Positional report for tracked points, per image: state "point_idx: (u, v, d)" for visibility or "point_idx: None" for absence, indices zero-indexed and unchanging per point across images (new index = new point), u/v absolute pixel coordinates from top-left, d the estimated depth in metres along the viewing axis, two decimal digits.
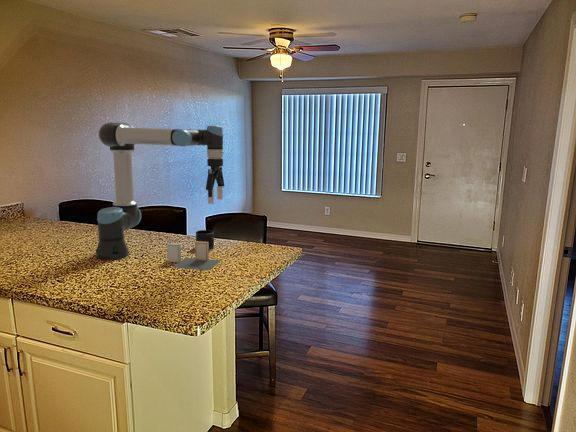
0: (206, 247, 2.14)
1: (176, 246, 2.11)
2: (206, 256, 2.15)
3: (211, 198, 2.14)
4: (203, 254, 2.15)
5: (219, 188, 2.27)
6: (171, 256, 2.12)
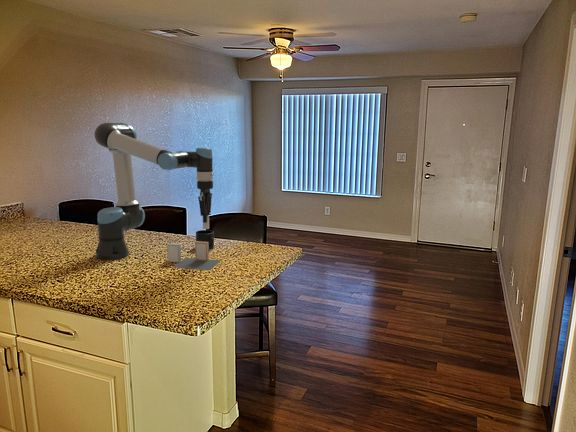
0: (206, 247, 2.14)
1: (176, 246, 2.11)
2: (206, 256, 2.15)
3: (206, 223, 2.17)
4: (203, 254, 2.15)
5: None
6: (171, 256, 2.12)
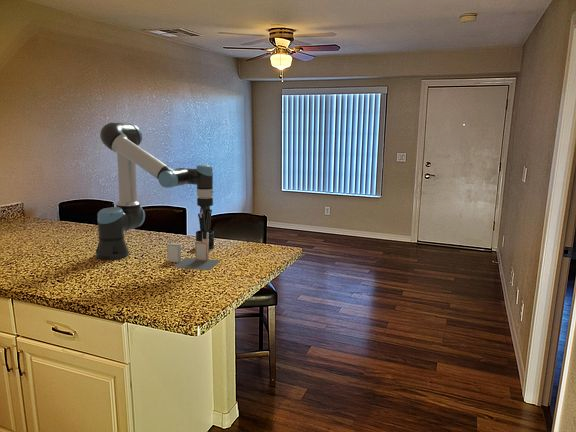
0: (206, 247, 2.14)
1: (176, 246, 2.11)
2: (206, 256, 2.15)
3: (205, 240, 2.19)
4: (203, 254, 2.15)
5: None
6: (171, 256, 2.12)
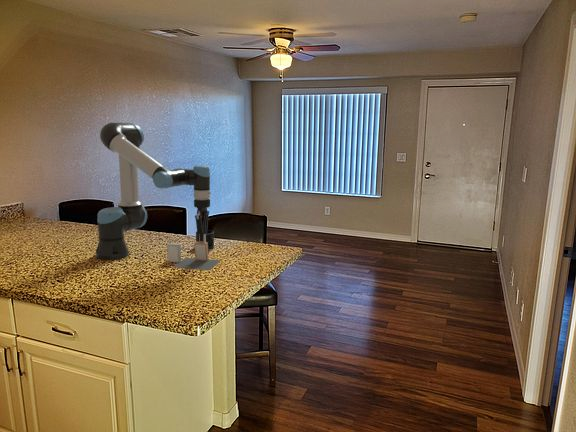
0: (205, 248, 2.13)
1: (176, 246, 2.11)
2: (206, 256, 2.14)
3: None
4: (203, 254, 2.14)
5: None
6: (171, 256, 2.12)
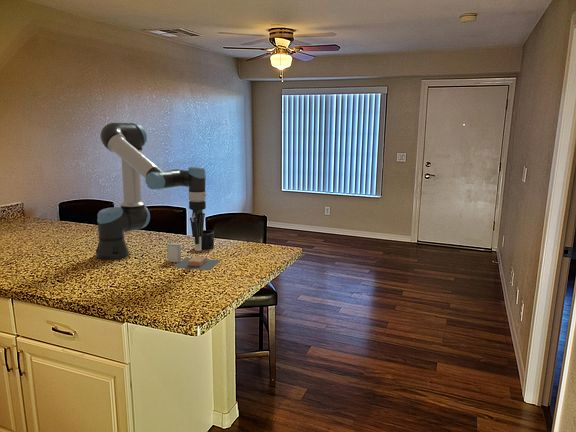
0: (201, 264, 2.08)
1: (176, 246, 2.11)
2: (204, 262, 2.13)
3: (198, 245, 2.09)
4: None
5: None
6: (171, 256, 2.12)
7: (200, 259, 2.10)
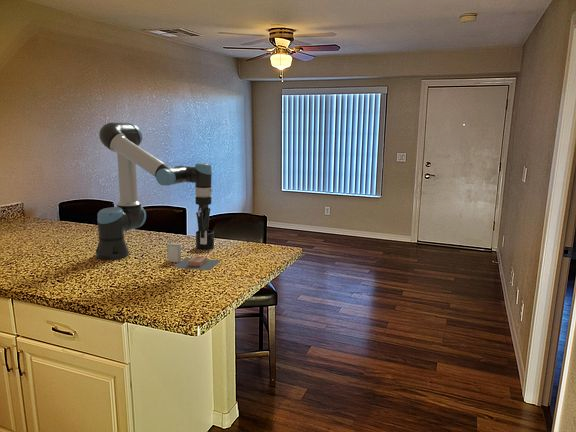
0: (201, 264, 2.08)
1: (176, 246, 2.11)
2: (204, 262, 2.13)
3: (203, 239, 2.17)
4: None
5: None
6: (171, 256, 2.12)
7: (200, 259, 2.10)
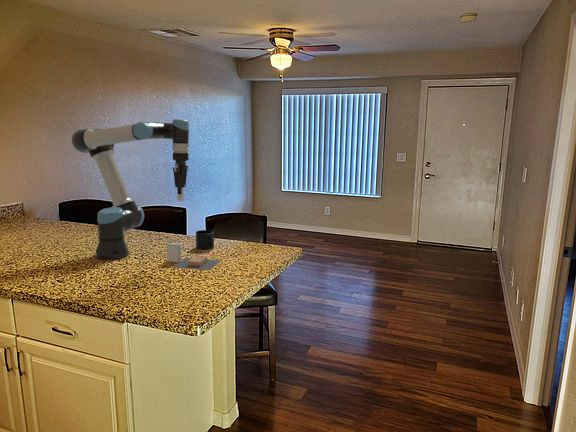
0: (201, 264, 2.08)
1: (176, 246, 2.11)
2: (204, 262, 2.13)
3: (180, 195, 2.19)
4: None
5: None
6: (171, 256, 2.12)
7: (200, 259, 2.10)
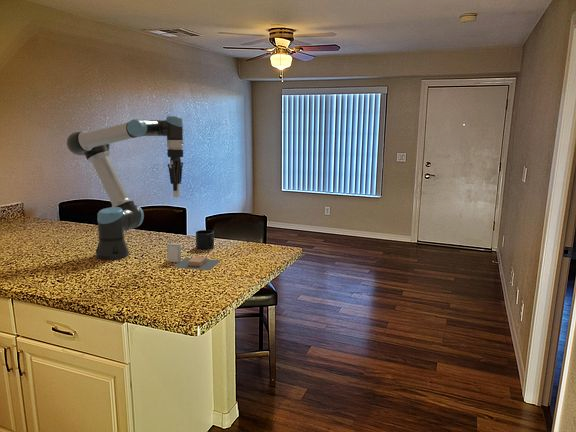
0: (201, 264, 2.08)
1: (176, 246, 2.11)
2: (204, 262, 2.13)
3: (176, 192, 2.20)
4: None
5: None
6: (171, 256, 2.12)
7: (200, 259, 2.10)
